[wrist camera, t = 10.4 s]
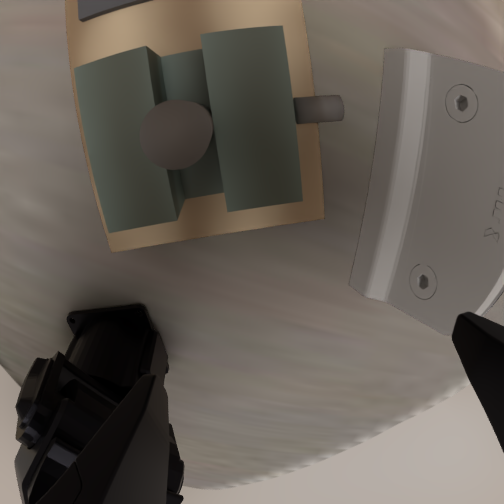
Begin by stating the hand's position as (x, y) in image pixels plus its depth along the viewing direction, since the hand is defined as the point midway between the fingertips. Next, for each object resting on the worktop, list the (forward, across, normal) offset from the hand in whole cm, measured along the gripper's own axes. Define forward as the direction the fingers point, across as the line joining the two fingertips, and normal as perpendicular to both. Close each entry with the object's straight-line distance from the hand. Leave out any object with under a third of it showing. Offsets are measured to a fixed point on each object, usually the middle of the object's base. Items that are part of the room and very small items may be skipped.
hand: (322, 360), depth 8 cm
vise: (+12, +3, -12) cm, 17 cm away
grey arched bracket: (+12, -11, -1) cm, 16 cm away
